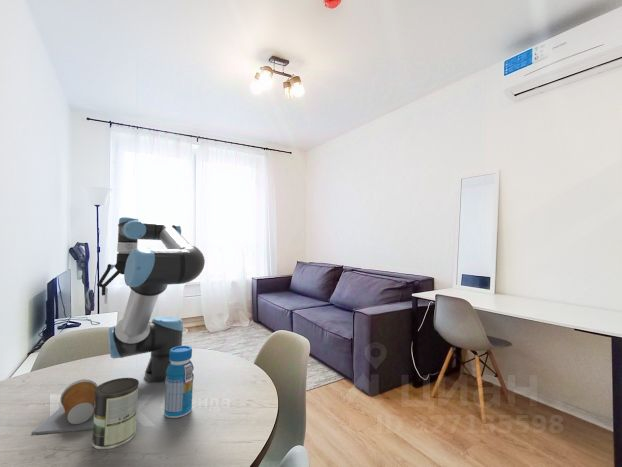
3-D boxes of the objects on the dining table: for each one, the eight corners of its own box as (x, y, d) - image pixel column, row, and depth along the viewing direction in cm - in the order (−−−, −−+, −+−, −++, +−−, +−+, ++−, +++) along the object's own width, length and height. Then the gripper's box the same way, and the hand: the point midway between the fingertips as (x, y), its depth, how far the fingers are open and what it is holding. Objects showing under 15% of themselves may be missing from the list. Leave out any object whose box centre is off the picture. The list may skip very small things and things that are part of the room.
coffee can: (82, 450, 77) (85, 394, 78) (106, 426, 87) (109, 377, 88) (124, 449, 78) (127, 393, 79) (142, 426, 88) (145, 377, 89)
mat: (128, 397, 104) (128, 396, 104) (103, 428, 86) (103, 426, 86) (70, 401, 101) (70, 400, 101) (31, 434, 83) (31, 432, 83)
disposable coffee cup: (54, 432, 84) (55, 408, 93) (94, 427, 90) (92, 405, 99) (66, 398, 85) (66, 378, 94) (105, 395, 91) (101, 377, 100)
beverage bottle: (163, 421, 90) (167, 354, 91) (163, 408, 98) (166, 346, 99) (193, 415, 94) (196, 350, 95) (190, 402, 102) (193, 343, 103)
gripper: (92, 252, 120) (88, 305, 119) (160, 253, 135) (157, 300, 134) (91, 252, 126) (88, 302, 125) (157, 252, 141) (154, 298, 140)
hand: (124, 301), depth 130 cm, fingers open, 13 cm apart
